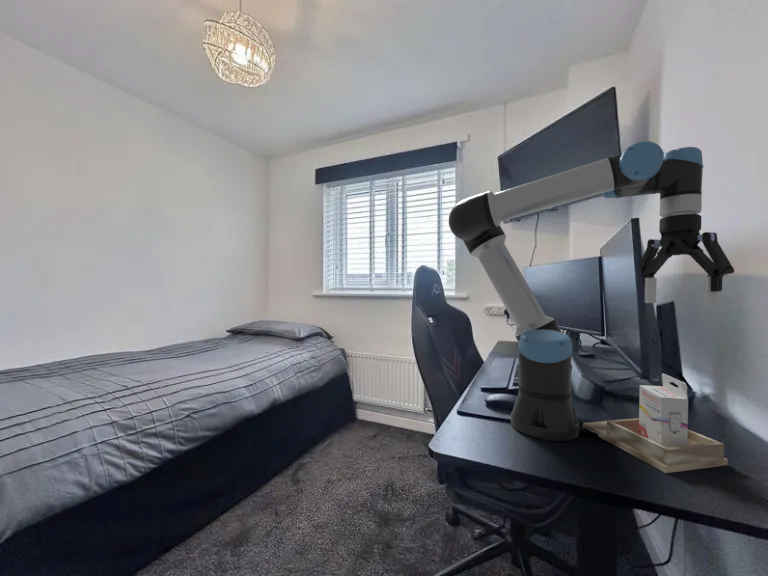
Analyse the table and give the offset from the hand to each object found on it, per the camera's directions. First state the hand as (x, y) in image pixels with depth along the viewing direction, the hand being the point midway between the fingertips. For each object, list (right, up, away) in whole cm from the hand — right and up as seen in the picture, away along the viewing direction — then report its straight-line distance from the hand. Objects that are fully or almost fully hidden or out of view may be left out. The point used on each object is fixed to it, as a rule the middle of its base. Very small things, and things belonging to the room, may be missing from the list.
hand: (678, 304), depth 80 cm
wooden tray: (-12, -31, -6) cm, 34 cm away
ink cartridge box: (-12, -30, -9) cm, 33 cm away
